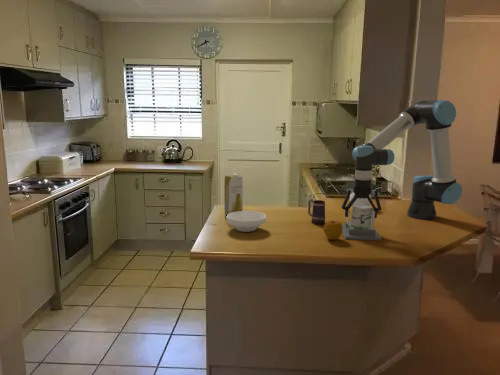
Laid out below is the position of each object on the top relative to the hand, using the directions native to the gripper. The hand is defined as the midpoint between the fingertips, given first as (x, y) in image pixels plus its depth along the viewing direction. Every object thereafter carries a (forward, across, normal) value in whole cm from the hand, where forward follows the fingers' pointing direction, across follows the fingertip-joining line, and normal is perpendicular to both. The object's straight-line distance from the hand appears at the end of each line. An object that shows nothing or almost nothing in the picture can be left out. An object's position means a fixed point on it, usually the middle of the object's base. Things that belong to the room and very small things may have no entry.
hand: (360, 224), depth 192 cm
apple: (+5, +14, +11) cm, 18 cm away
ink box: (+3, 0, 0) cm, 3 cm away
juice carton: (+5, +65, -24) cm, 69 cm away
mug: (+5, +20, -17) cm, 27 cm away
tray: (+5, 0, 0) cm, 5 cm away
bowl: (+5, +55, +1) cm, 55 cm away
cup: (+5, -8, -51) cm, 52 cm away
